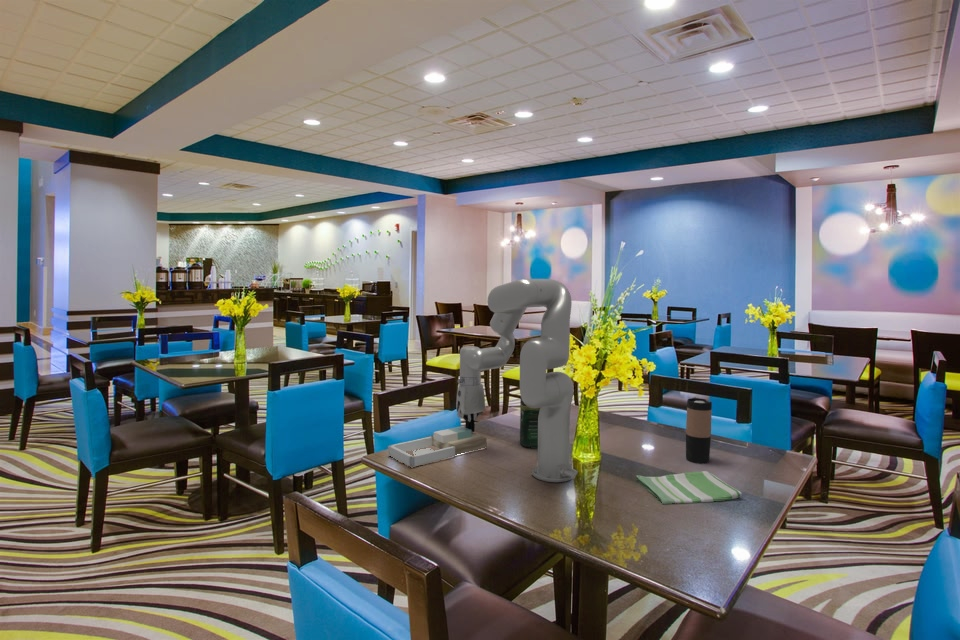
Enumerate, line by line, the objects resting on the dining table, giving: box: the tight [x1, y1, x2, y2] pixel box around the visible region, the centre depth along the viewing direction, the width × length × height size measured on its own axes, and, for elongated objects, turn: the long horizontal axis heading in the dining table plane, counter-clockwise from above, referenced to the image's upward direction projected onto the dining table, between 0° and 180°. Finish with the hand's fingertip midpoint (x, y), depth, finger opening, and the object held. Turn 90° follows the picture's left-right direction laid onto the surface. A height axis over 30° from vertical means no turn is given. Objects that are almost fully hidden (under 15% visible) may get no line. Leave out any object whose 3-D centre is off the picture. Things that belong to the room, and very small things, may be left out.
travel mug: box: [685, 397, 713, 465], centre depth 173 cm, size 8×8×20 cm
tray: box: [387, 436, 455, 467], centre depth 175 cm, size 15×17×4 cm
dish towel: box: [635, 470, 743, 505], centre depth 148 cm, size 18×23×3 cm
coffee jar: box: [519, 397, 540, 449], centre depth 189 cm, size 10×8×19 cm
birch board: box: [430, 432, 488, 455], centre depth 185 cm, size 14×14×4 cm
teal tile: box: [448, 426, 471, 440], centre depth 185 cm, size 6×6×2 cm
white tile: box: [433, 428, 458, 443], centre depth 181 cm, size 6×6×2 cm
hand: (470, 431), depth 188 cm, fingers closed
